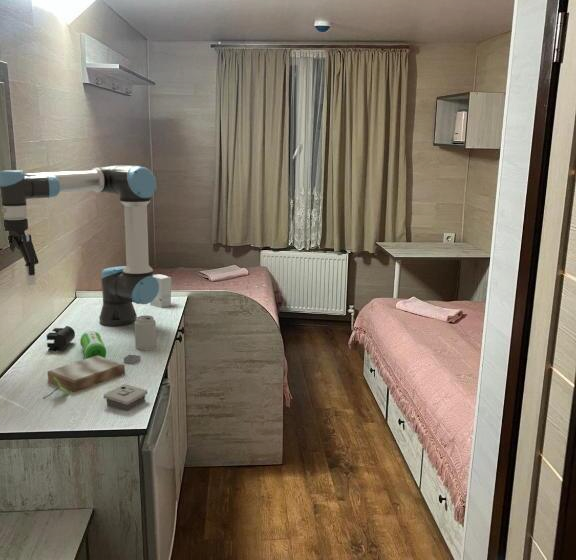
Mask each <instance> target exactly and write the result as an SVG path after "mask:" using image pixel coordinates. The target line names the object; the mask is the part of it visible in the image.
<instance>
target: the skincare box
mask: <svg viewBox="0 0 576 560" xmlns="http://www.w3.org/2000/svg"><path fill="white" fill-rule="evenodd" d="M153 277H155V278H156V280H158V282H159V292H158V294H157V296H156V297H155V298H154V300H153V301H152V302H150V303H149V304H150V306H152V307H155V308H156V307H157V308H159V309H163V308H166V307H170V306H172V277H171V276H168V275H164V274H161V273H160V274H159V273H158V274H157V273H156V274H153Z"/></svg>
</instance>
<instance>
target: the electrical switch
mask: <svg viewBox="0 0 576 560" xmlns="http://www.w3.org/2000/svg"><path fill="white" fill-rule="evenodd" d="M148 394H149V393H148V389H145V388H141V387H136V386H134V385H130V384H126V383H125V384H122V385H120V386H117V387H116V388H114V389H112V390H110V391H108V392H106V393H104V394H103V398H104V399H106V401H105V402H106V406H107V407H110V408H113V409H116V410H121V411H125V412H129V411H131V410H132V409H133V408H135V407H137V406H139V405H141V404H142V403H144V402H145V401H146V396H147V395H148ZM140 403H141V404H140Z"/></svg>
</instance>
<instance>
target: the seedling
mask: <svg viewBox="0 0 576 560" xmlns="http://www.w3.org/2000/svg"><path fill="white" fill-rule="evenodd" d="M54 380H55V381H56V383H57V385H58V386H57V385H56V386H57V388H55V389H54V390H53V391H52V392H51V393H50V394H48V395H45V396H44V397H43V398H42V399H46V398H47V397H50V396H51V395H52V394H53V393H55V391H57V390H58V389H60V391H62V392H63V393H65V394H66V395H70V391H69V390H66V389H65V388H63V387H61V384H60V382H59V380H58V379H57V378H56V377H55V376H54Z"/></svg>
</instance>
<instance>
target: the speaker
mask: <svg viewBox="0 0 576 560" xmlns="http://www.w3.org/2000/svg"><path fill="white" fill-rule="evenodd" d="M79 341H80V345H81V347H82V350H83V353H84V357H85V359H88V358H91V357H94V356H97V355H98V356H101V357H104V358H106V356H107V348H106V346H105V345H104V342H103V340H102V336H101V335H100V334H99V332H97V331H95V330H87V331H84V333H83V334H82V335H81V337H80V340H79Z"/></svg>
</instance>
